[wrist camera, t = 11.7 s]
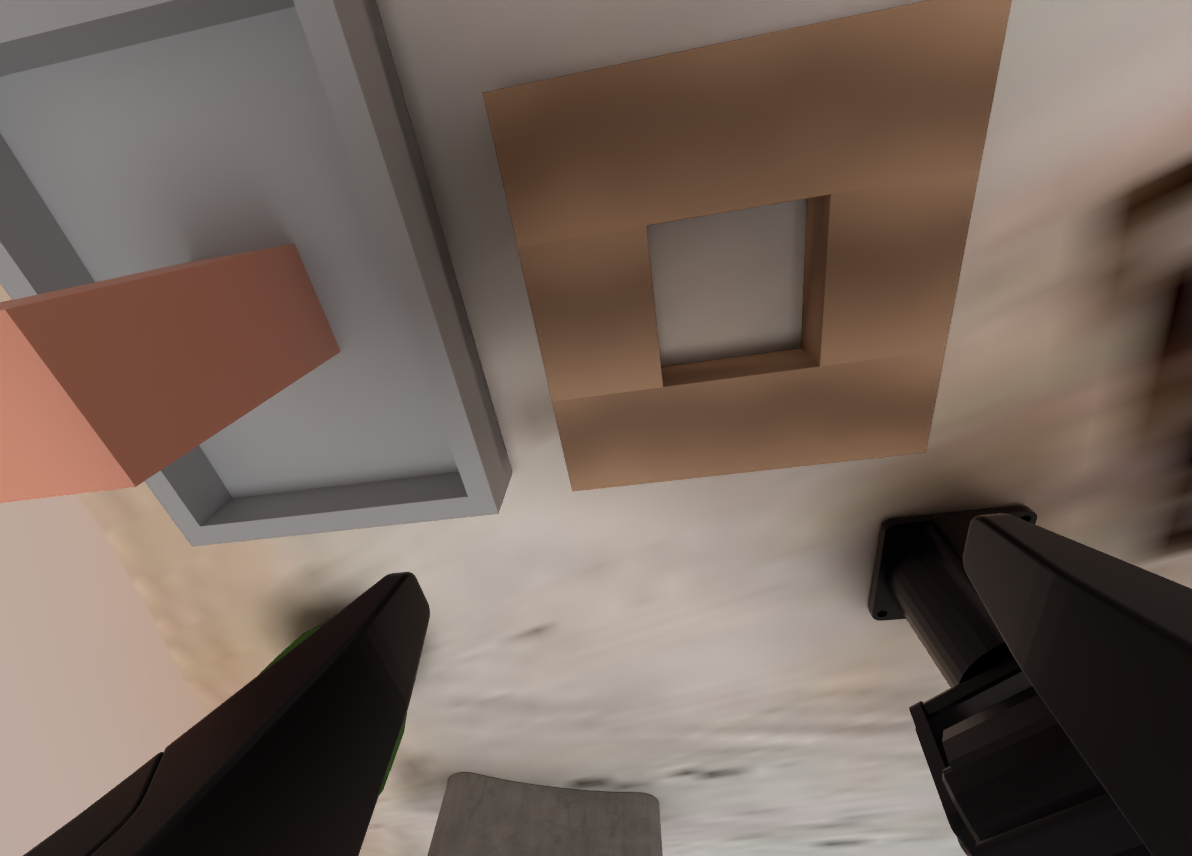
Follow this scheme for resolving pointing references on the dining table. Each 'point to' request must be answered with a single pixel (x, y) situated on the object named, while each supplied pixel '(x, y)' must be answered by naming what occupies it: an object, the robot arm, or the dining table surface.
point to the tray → (257, 240)
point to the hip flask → (542, 821)
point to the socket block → (744, 180)
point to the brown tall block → (148, 367)
